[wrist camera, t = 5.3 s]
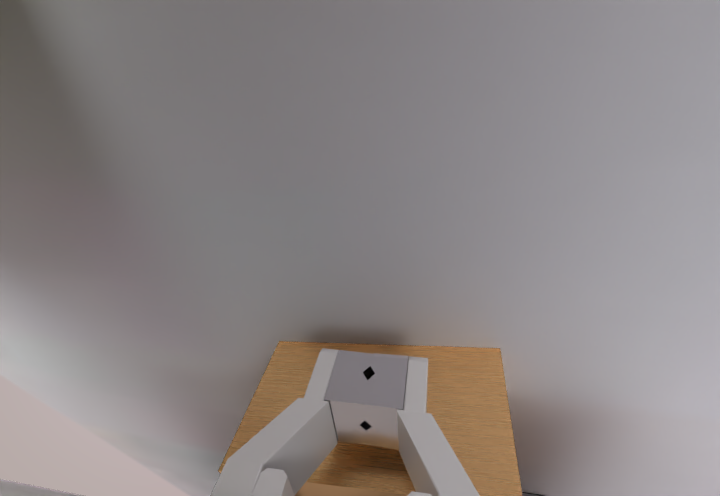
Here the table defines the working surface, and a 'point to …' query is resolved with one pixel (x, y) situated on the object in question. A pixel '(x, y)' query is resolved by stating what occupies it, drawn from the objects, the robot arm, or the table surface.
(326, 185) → the table surface
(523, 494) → the bracket
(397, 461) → the block
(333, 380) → the robot arm
